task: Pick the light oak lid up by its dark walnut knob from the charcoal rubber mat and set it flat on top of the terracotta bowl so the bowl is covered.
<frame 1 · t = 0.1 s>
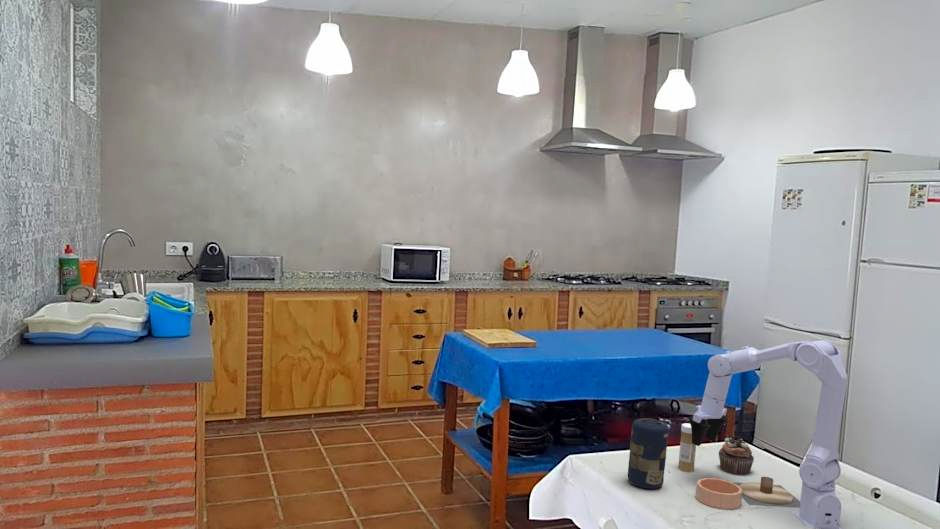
hand: (702, 442, 197), 11 cm above the table, tool pointing down, fingers open, 7 cm apart
mat: (765, 496, 188), on the table
lid: (765, 494, 188), point 1 cm above the table, touching mat
navy canister: (644, 484, 191), on the table
bowl: (717, 503, 182), on the table
cupcake: (734, 472, 206), on the table
sprinkles bottle: (685, 471, 204), on the table
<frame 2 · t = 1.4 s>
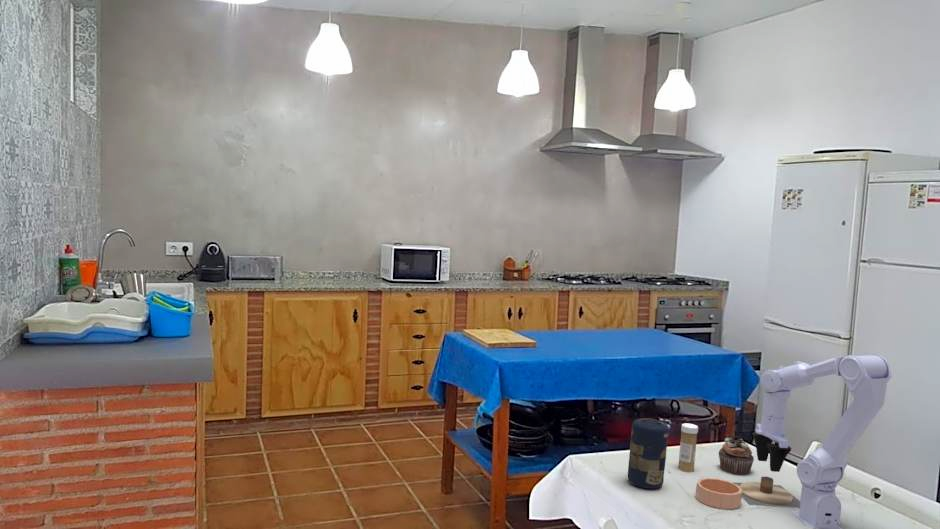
hand: (768, 465, 188), 8 cm above the table, tool pointing down, fingers open, 7 cm apart
nothing on the table moved.
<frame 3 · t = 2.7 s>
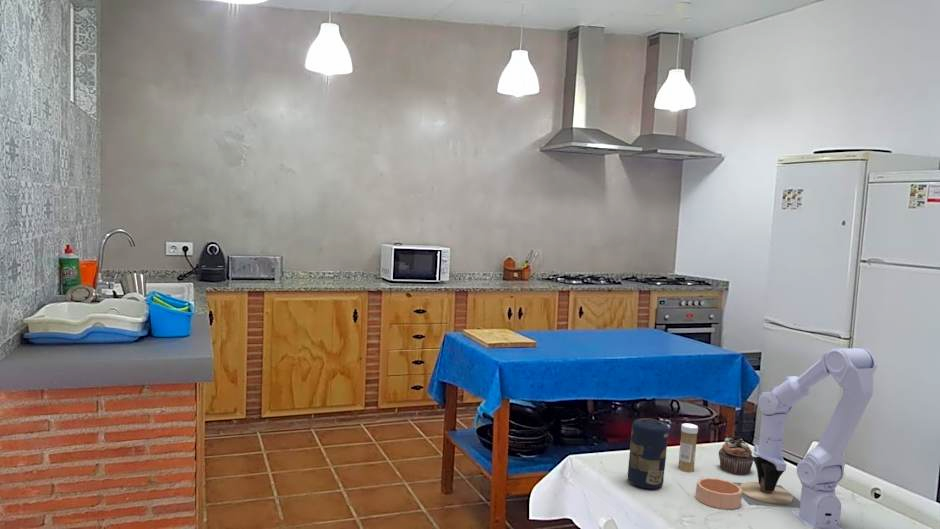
hand: (766, 487, 188), 2 cm above the table, tool pointing down, fingers closed on lid, 3 cm apart
lid: (765, 494, 188), point 1 cm above the table, touching gripper, mat
everything else where it was.
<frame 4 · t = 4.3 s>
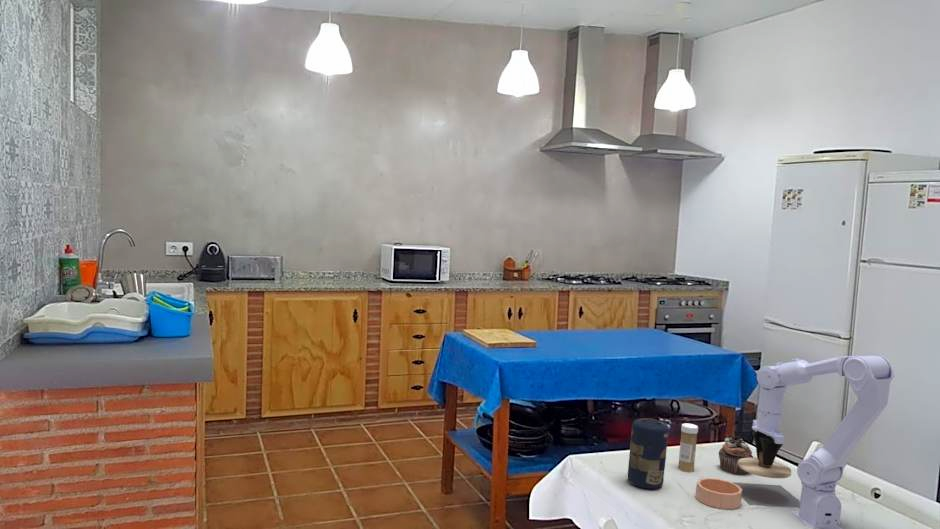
hand: (764, 462, 187), 9 cm above the table, tool pointing down, fingers closed on lid, 3 cm apart
lid: (764, 469, 187), point 8 cm above the table, touching gripper
everything else where it was.
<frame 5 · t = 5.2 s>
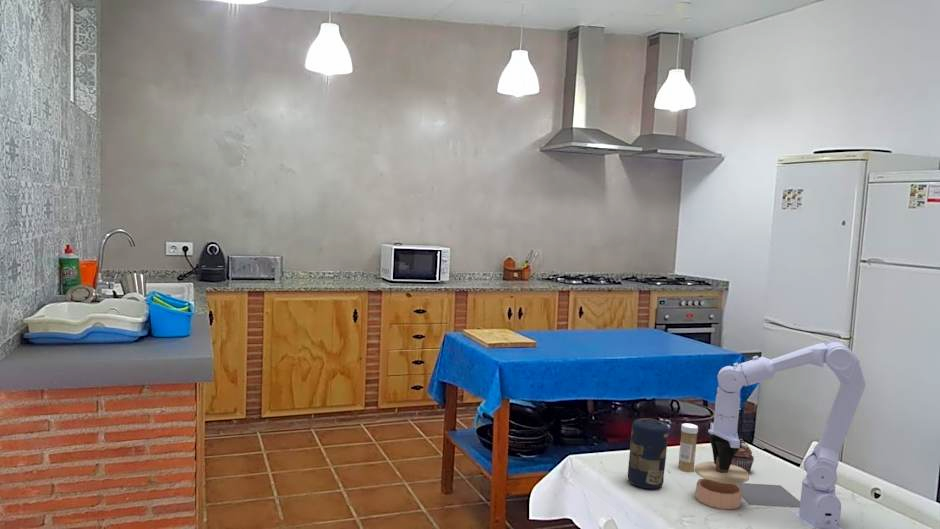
hand: (721, 466, 181), 9 cm above the table, tool pointing down, fingers closed on lid, 3 cm apart
lid: (721, 473, 181), point 8 cm above the table, touching gripper
everything else where it was.
when the fingers open (7 cm above the table, at t = 5.9 s): lid drops 1 cm, resting on bowl.
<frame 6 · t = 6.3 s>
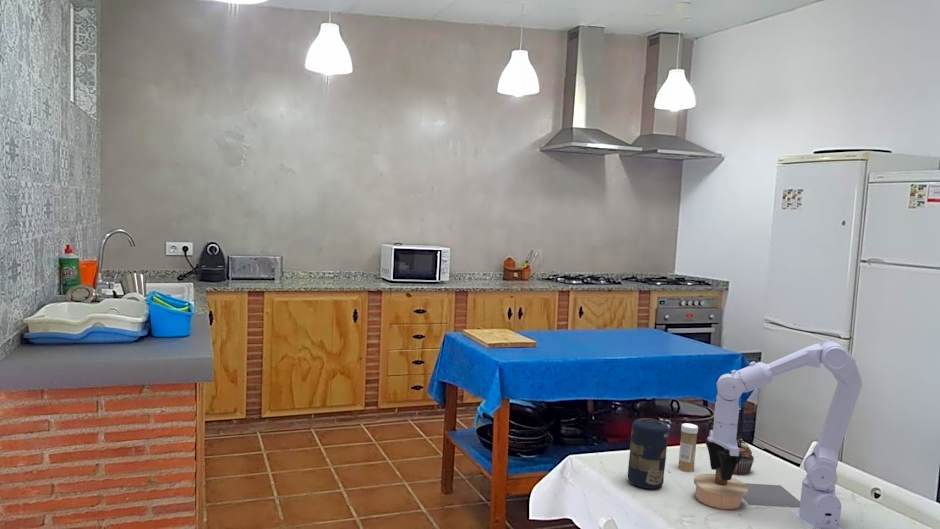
hand: (720, 474, 181), 7 cm above the table, tool pointing down, fingers open, 6 cm apart
lid: (720, 486, 181), point 4 cm above the table, touching bowl
bowl: (717, 503, 182), on the table, touching lid
everything else where it was.
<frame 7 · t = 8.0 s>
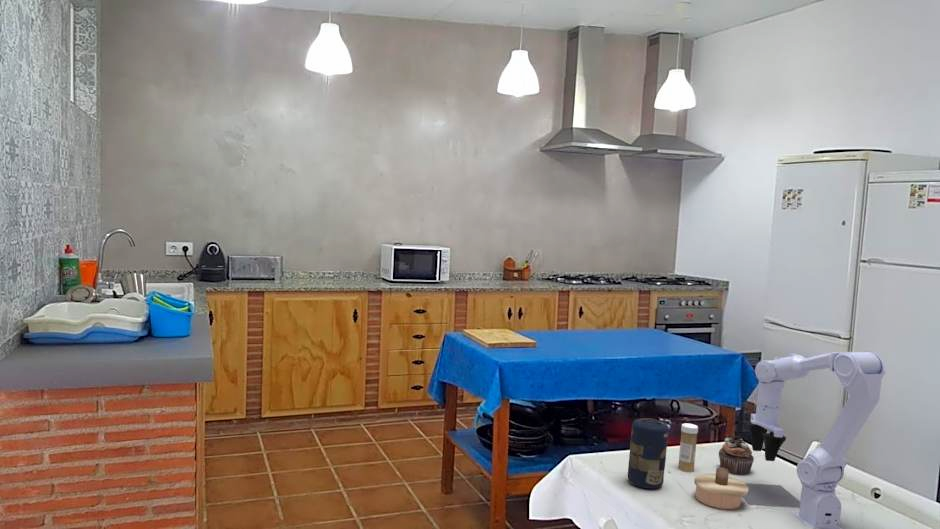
hand: (763, 455, 189), 10 cm above the table, tool pointing down, fingers open, 7 cm apart
nothing on the table moved.
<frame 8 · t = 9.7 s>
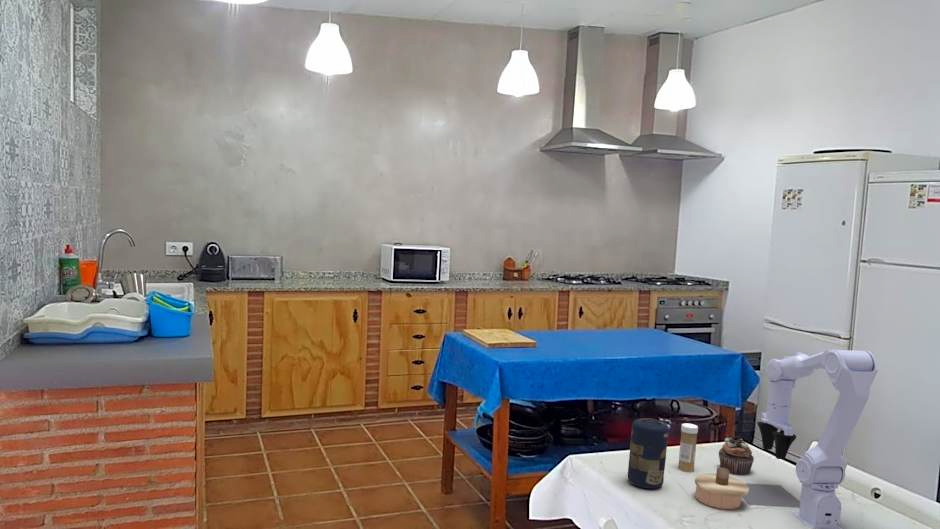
hand: (773, 453, 192), 10 cm above the table, tool pointing down, fingers open, 7 cm apart
nothing on the table moved.
at the end: lid 0.5 cm off-centre on the bowl, point 4.5 cm above the bowl's base; lid tilted 0°; the gripper is holding nothing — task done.
